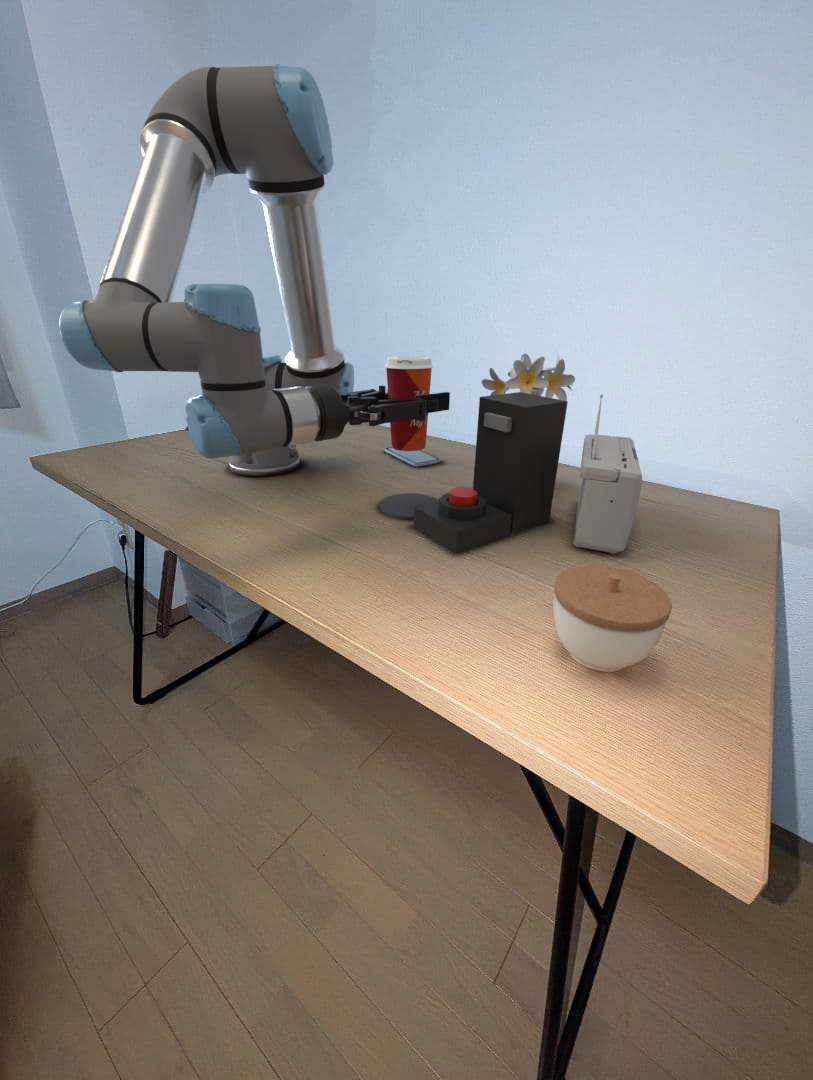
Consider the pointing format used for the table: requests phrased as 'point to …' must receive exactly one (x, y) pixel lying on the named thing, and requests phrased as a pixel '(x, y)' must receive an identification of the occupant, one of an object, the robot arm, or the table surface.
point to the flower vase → (532, 378)
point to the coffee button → (463, 497)
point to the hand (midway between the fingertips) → (432, 397)
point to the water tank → (519, 455)
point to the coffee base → (461, 523)
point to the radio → (607, 492)
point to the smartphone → (414, 457)
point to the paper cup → (407, 382)
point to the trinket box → (608, 615)
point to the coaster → (404, 504)
